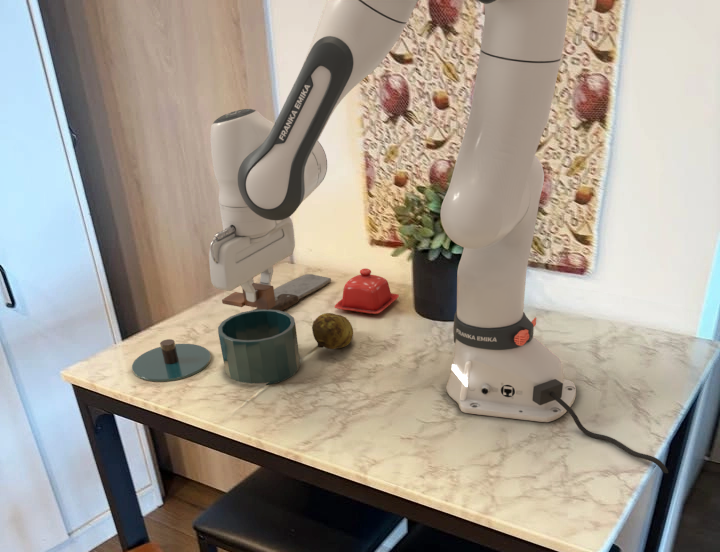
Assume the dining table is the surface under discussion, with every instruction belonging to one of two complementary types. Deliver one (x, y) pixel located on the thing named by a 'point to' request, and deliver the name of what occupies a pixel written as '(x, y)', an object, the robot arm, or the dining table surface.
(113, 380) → the dining table surface
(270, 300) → the brown stepped bar
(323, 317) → the potato
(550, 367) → the robot arm
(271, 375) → the pot
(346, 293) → the butter dish
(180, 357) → the lid
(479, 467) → the dining table surface
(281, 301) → the cleaver
